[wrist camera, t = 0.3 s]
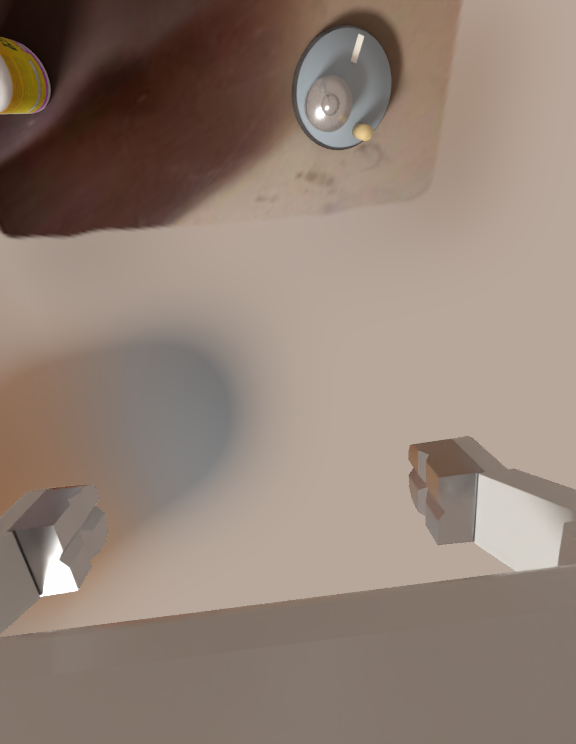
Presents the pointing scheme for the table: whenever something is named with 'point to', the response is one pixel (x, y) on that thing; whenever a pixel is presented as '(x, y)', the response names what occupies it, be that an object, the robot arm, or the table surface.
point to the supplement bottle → (21, 80)
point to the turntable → (349, 82)
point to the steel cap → (328, 103)
